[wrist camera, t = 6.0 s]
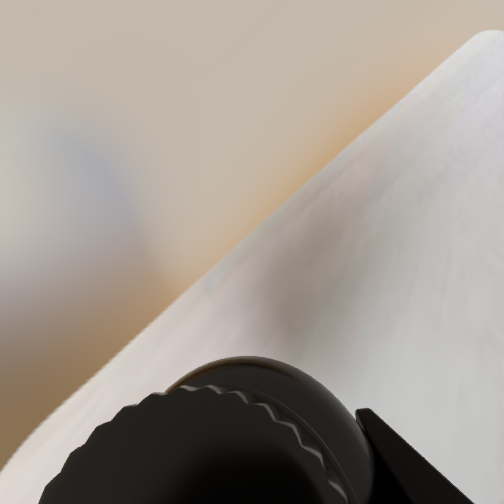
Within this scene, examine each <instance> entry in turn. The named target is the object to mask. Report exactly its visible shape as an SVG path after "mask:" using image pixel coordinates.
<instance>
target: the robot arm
mask: <svg viewBox="0 0 504 504" xmlns="http://www.w3.org/2000/svg"><path fill="white" fill-rule="evenodd" d="M355 415H356V422H357V423H358V425H359V426H360V427H361V429H362V430H363V432H364V434H365V435H366V437H367V439H368V441H369V442H370V444H371V446H372V448H373V450H374V452H375V454H376V456H377V458H378V460H379V462H380V464H381V467H382V469H383V472H384V474H385V477H386V479H387V482H388V485H389V488H390V491H391V494H392V497H393V500H394V503H395V504H474V503H473V502H472V501H471V500H470V499H469V498H467V497H466V496H465V495H464V494H463V493H462V492H461V491H460V490H459V489H458V488H457V487H455V486H454V485H453V484H452V483H451V482H450V481H449V480H448V479H447V478H446V477H444V476H443V475H442V474H441V473H440V472H439V471H438V470H437V469H436V468H435V467H434V466H432V465H431V464H430V463H429V462H428V461H427V460H426V459H425V458H424V457H423V456H421V455H420V454H419V453H418V452H417V451H416V450H415V449H414V448H413V447H412V446H410V445H409V444H408V443H407V442H406V441H405V440H404V439H403V438H402V437H401V436H400V435H398V434H397V433H396V432H395V431H394V430H393V429H392V428H391V427H390V426H389V425H387V424H386V423H385V422H384V421H383V420H382V419H381V418H380V417H379V416H378V415H377V414H375V413H374V412H373V411H372V410H371V409H369V408H362V409H357V410H356V411H355Z"/></svg>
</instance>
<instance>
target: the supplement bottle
mask: <svg viewBox="0 0 504 504" xmlns="http://www.w3.org/2000/svg"><path fill="white" fill-rule="evenodd" d="M38 504H395V503H394V500H393V497H392V494H391V491H390V488H389V485H388V482H387V479H386V477H385V474H384V472H383V469H382V467H381V464H380V462H379V460H378V458H377V456H376V454H375V452H374V450H373V448H372V446H371V444H370V442H369V441H368V439H367V437H366V435H365V434H364V432H363V430H362V429H361V427H360V426H359V425H358V423H357V422H356V420H355V419H354V417H353V416H352V415H351V414H350V412H349V411H348V410H347V409H346V408H345V406H344V405H343V404H342V403H341V402H340V401H339V400H338V399H337V398H336V397H335V396H334V395H333V394H332V393H331V392H330V391H329V390H328V389H327V388H325V387H324V386H323V385H322V384H321V383H319V382H318V381H317V380H315V379H314V378H312V377H311V376H310V375H308V374H306V373H304V372H303V371H301V370H299V369H297V368H295V367H293V366H291V365H289V364H286V363H283V362H280V361H277V360H274V359H269V358H265V357H257V356H237V357H229V358H224V359H220V360H216V361H213V362H210V363H208V364H205V365H203V366H201V367H198V368H196V369H195V370H193V371H191V372H189V373H188V374H186V375H185V376H183V377H182V378H180V379H179V380H177V381H176V382H175V383H174V384H172V385H171V386H170V387H169V388H168V389H167V390H166V391H165V392H164V393H160V392H155V393H152V394H150V395H149V396H147V397H146V398H145V399H143V400H142V401H141V402H140V403H139V404H133V405H128V406H125V407H123V408H122V409H121V410H120V411H119V412H118V413H117V414H116V416H115V417H114V418H113V419H112V420H111V421H109V422H106V423H103V424H101V425H99V426H97V427H96V428H95V430H94V431H93V432H92V434H91V435H90V437H89V438H88V440H87V441H86V443H85V444H84V445H82V446H81V447H78V448H77V449H75V450H74V451H73V452H71V453H70V455H69V457H68V458H67V460H66V462H65V464H64V466H63V468H62V470H61V472H60V473H59V474H58V475H57V476H56V477H55V478H53V479H52V480H51V481H50V482H49V483H48V484H47V485H46V486H45V489H44V491H43V493H42V496H41V498H40V501H39V503H38Z"/></svg>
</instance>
